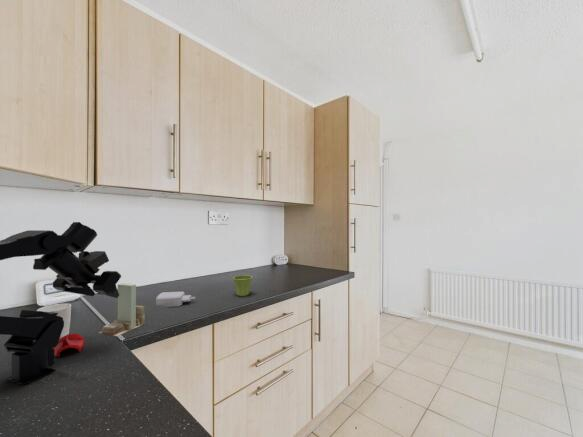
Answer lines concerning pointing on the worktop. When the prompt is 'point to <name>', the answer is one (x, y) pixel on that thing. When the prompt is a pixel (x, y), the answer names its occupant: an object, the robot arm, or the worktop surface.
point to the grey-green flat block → (127, 303)
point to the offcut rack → (139, 320)
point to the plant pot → (242, 284)
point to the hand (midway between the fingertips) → (105, 295)
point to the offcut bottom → (113, 331)
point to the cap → (69, 343)
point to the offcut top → (113, 326)
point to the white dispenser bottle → (172, 299)
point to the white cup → (63, 312)
